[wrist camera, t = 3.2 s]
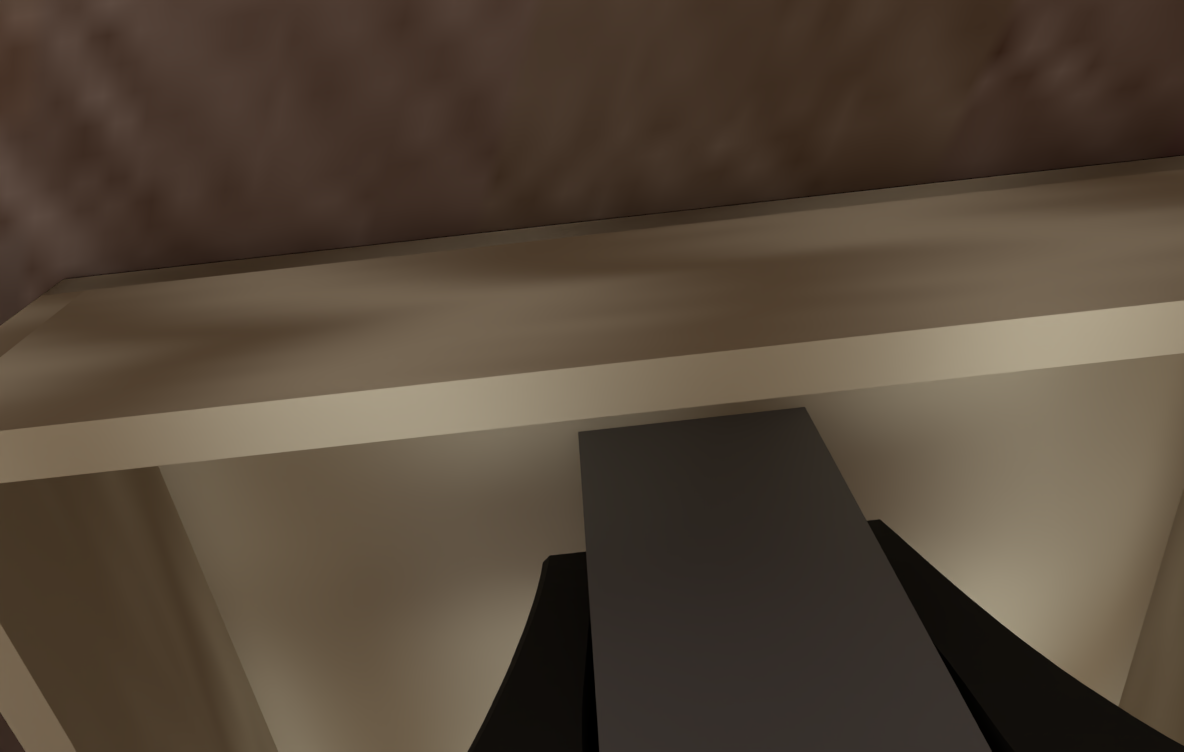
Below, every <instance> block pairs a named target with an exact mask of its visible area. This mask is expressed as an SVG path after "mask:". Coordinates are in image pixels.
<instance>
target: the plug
mask: <svg viewBox="0 0 1184 752" xmlns="http://www.w3.org/2000/svg"><path fill="white" fill-rule="evenodd" d="M578 438H579V453H580V468H581V483H582V498H583V513H584V528H585V543H586V558H587V573H588V588H589V603H590V618H591V633H592V648H593V663H594V678H595V693H596V708H597V723H598V738H599V752H992V751H991V749H990V747H989V745H988V743H987V742H986V740H985V738H984V736H983V734H982V732H981V731H980V729H979V727H978V725H977V723H976V721H975V720H974V718H973V716H972V714H971V712H970V710H969V708H968V707H967V705H966V703H965V701H964V699H963V697H962V696H961V694H960V692H959V690H958V688H957V686H956V684H955V683H954V681H953V679H952V677H951V675H950V673H949V672H948V670H947V668H946V666H945V664H944V662H943V661H942V659H941V657H940V655H939V653H938V651H937V649H936V648H935V646H934V644H933V642H932V640H931V638H930V637H929V635H928V633H927V631H926V629H925V627H924V625H923V624H922V622H921V620H920V618H919V616H918V614H917V613H916V611H915V609H914V607H913V605H912V603H911V602H910V600H909V598H908V596H907V594H906V592H905V590H904V589H903V587H902V585H901V583H900V581H899V579H898V578H897V576H896V574H895V572H894V570H893V568H892V566H891V565H890V563H889V561H888V559H887V557H886V555H885V554H884V552H883V550H882V548H881V546H880V544H879V543H878V541H877V539H876V537H875V535H874V533H873V531H872V530H871V528H870V526H869V524H868V522H867V520H866V519H865V517H864V515H863V513H862V511H861V509H860V508H859V506H858V504H857V502H856V500H855V498H854V496H853V495H852V493H851V491H850V489H849V487H848V485H847V484H846V482H845V480H844V478H843V476H842V474H841V472H840V471H839V469H838V467H837V465H836V463H835V461H834V460H833V458H832V456H831V454H830V452H829V450H828V449H827V447H826V445H825V443H824V441H823V439H822V437H821V436H820V434H819V432H818V430H817V428H816V426H815V425H814V423H813V421H812V419H811V417H810V415H809V413H808V412H807V410H806V408H805V407H799V408H790V409H781V410H771V411H762V412H753V413H744V414H735V415H726V416H717V417H708V418H699V419H690V420H681V421H671V422H662V423H653V424H644V425H635V426H626V427H617V428H608V429H599V430H590V431H581V432H578Z"/></svg>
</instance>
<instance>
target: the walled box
mask: <svg viewBox="0 0 1184 752" xmlns="http://www.w3.org/2000/svg"><path fill="white" fill-rule="evenodd" d="M799 407H805V408H806V410H807V412H808V413H809V415H810V417H811V419H812V421H813V423H814V425H815V426H816V428H817V430H818V432H819V434H820V436H821V437H822V439H823V441H824V443H825V445H826V447H827V449H828V450H829V452H830V454H831V456H832V458H833V460H834V461H835V463H836V465H837V467H838V469H839V471H840V472H841V474H842V476H843V478H844V480H845V482H846V484H847V485H848V487H849V489H850V491H851V493H852V495H853V496H854V498H855V500H856V502H857V504H858V506H859V508H860V509H861V511H862V513H863V515H864V517H865V519H866V520H867V521H868V520H877V519H880V520H881V521H883V522H884V523H885V524H886V525H887V526H888V527H890V528H891V529H892V530H893V531H894V532H895V533H896V534H898V535H899V536H900V537H901V538H902V539H903V540H904V541H905V542H907V543H908V544H909V545H910V546H911V547H912V548H913V549H914V550H915V551H917V552H918V553H919V554H920V555H921V556H922V557H923V558H924V559H926V560H927V561H928V562H929V563H930V564H931V565H932V566H934V567H935V568H936V569H937V570H938V571H939V572H940V573H942V574H943V575H944V576H945V577H946V578H947V579H948V580H950V581H951V582H952V583H953V584H954V585H955V586H957V587H958V588H959V589H960V590H961V591H962V592H964V593H965V594H966V595H967V596H968V597H970V598H971V599H972V600H973V601H974V602H976V603H977V604H978V605H979V606H981V607H982V608H983V609H984V610H985V611H987V612H988V613H989V614H990V615H991V616H993V617H994V618H995V619H996V620H998V621H999V622H1000V623H1001V624H1002V625H1004V626H1005V627H1006V628H1008V629H1009V630H1010V631H1011V632H1013V633H1014V634H1015V635H1017V636H1018V637H1019V638H1020V639H1022V640H1023V641H1024V642H1026V643H1027V644H1028V645H1030V646H1031V647H1032V648H1034V649H1035V650H1036V651H1038V652H1039V653H1041V654H1042V655H1043V656H1045V657H1046V658H1047V659H1049V660H1050V661H1051V662H1053V663H1054V664H1055V665H1057V666H1058V667H1060V668H1061V669H1062V670H1064V671H1065V672H1067V673H1068V674H1070V675H1071V676H1073V677H1074V678H1075V679H1077V680H1078V681H1080V682H1081V683H1083V684H1084V685H1086V686H1087V687H1089V688H1090V689H1092V690H1094V691H1095V692H1097V693H1098V694H1100V695H1101V696H1103V697H1104V698H1106V699H1107V700H1109V701H1111V702H1112V703H1114V704H1115V705H1117V706H1118V707H1120V708H1121V709H1123V710H1124V711H1126V712H1128V713H1129V714H1131V715H1132V716H1134V717H1135V718H1137V719H1139V720H1140V721H1142V722H1144V723H1145V724H1147V725H1149V726H1150V727H1152V728H1154V729H1155V730H1157V731H1159V732H1160V733H1162V734H1164V735H1165V736H1167V737H1169V738H1171V739H1172V740H1174V741H1176V742H1178V743H1180V744H1181V745H1183V746H1184V156H1175V157H1166V158H1157V159H1148V160H1139V161H1130V162H1121V163H1112V164H1103V165H1094V166H1085V167H1076V168H1067V169H1058V170H1049V171H1039V172H1030V173H1021V174H1012V175H1003V176H994V177H985V178H976V179H967V180H958V181H949V182H940V183H931V184H922V185H913V186H904V187H895V188H886V189H877V190H868V191H859V192H849V193H840V194H831V195H822V196H813V197H804V198H795V199H786V200H777V201H768V202H759V203H750V204H741V205H732V206H723V207H714V208H705V209H696V210H687V211H678V212H669V213H659V214H650V215H641V216H632V217H623V218H614V219H605V220H596V221H587V222H578V223H569V224H560V225H551V226H542V227H533V228H524V229H515V230H506V231H497V232H488V233H478V234H469V235H460V236H451V237H442V238H433V239H424V240H415V241H406V242H397V243H388V244H379V245H370V246H361V247H352V248H343V249H334V250H325V251H316V252H307V253H298V254H288V255H279V256H270V257H261V258H252V259H243V260H234V261H225V262H216V263H207V264H198V265H189V266H180V267H171V268H162V269H153V270H144V271H135V272H126V273H117V274H108V275H98V276H89V277H80V278H71V279H63V280H62V281H61V282H59V283H58V284H57V285H55V286H54V287H52V288H51V289H50V290H48V291H47V292H46V293H44V294H43V295H42V296H40V297H39V298H38V299H36V300H35V301H33V302H32V303H31V304H29V305H28V306H27V307H25V308H24V309H23V310H21V311H20V312H18V313H17V314H16V315H14V316H13V317H12V318H10V319H9V320H8V321H6V322H5V323H3V324H2V325H1V326H0V712H1V714H2V716H3V717H4V719H5V720H6V722H7V723H8V725H9V727H10V728H11V730H12V731H13V733H14V734H15V736H16V737H17V739H18V741H19V742H20V744H21V745H22V747H23V748H24V750H25V752H468V750H469V748H470V746H471V744H472V742H473V740H474V739H475V737H476V735H477V733H478V731H479V729H480V727H481V725H482V723H483V721H484V719H485V717H486V715H487V713H488V711H489V709H490V707H491V705H492V702H493V700H494V698H495V696H496V694H497V692H498V690H499V688H500V686H501V683H502V681H503V679H504V677H505V675H506V672H507V670H508V668H509V665H510V663H511V660H512V658H513V655H514V653H515V650H516V648H517V645H518V643H519V640H520V638H521V635H522V633H523V630H524V628H525V625H526V622H527V619H528V616H529V613H530V610H531V607H532V604H533V601H534V598H535V594H536V591H537V587H538V583H539V579H540V575H541V570H542V564H543V562H544V561H545V560H546V559H547V558H548V557H549V556H550V555H558V554H567V553H576V552H585V551H586V543H585V528H584V513H583V498H582V483H581V468H580V453H579V438H578V432H581V431H590V430H599V429H608V428H617V427H626V426H635V425H644V424H653V423H662V422H671V421H681V420H690V419H699V418H708V417H717V416H726V415H735V414H744V413H753V412H762V411H771V410H781V409H790V408H799Z"/></svg>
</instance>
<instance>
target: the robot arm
mask: <svg viewBox="0 0 1184 752" xmlns="http://www.w3.org/2000/svg"><path fill="white" fill-rule="evenodd" d="M867 522H868V524H869V526H870V528H871V530H872V531H873V533H874V535H875V537H876V539H877V541H878V543H879V544H880V546H881V548H882V550H883V552H884V554H885V555H886V557H887V559H888V561H889V563H890V565H891V566H892V568H893V570H894V572H895V574H896V576H897V578H898V579H899V581H900V583H901V585H902V587H903V589H904V590H905V592H906V594H907V596H908V598H909V600H910V602H911V603H912V605H913V607H914V609H915V611H916V613H917V614H918V616H919V618H920V620H921V622H922V624H923V625H924V627H925V629H926V631H927V633H928V635H929V637H930V638H931V640H932V642H933V644H934V646H935V648H936V649H937V651H938V653H939V655H940V657H941V659H942V661H943V662H944V664H945V666H946V668H947V670H948V672H949V673H950V675H951V677H952V679H953V681H954V683H955V684H956V686H957V688H958V690H959V692H960V694H961V696H962V697H963V699H964V701H965V703H966V705H967V707H968V708H969V710H970V712H971V714H972V716H973V718H974V720H975V721H976V723H977V725H978V727H979V729H980V731H981V732H982V734H983V736H984V738H985V740H986V742H987V743H988V745H989V747H990V749H991V751H992V752H1184V746H1183V745H1181V744H1180V743H1178V742H1176V741H1174V740H1172V739H1171V738H1169V737H1167V736H1165V735H1164V734H1162V733H1160V732H1159V731H1157V730H1155V729H1154V728H1152V727H1150V726H1149V725H1147V724H1145V723H1144V722H1142V721H1140V720H1139V719H1137V718H1135V717H1134V716H1132V715H1131V714H1129V713H1128V712H1126V711H1124V710H1123V709H1121V708H1120V707H1118V706H1117V705H1115V704H1114V703H1112V702H1111V701H1109V700H1107V699H1106V698H1104V697H1103V696H1101V695H1100V694H1098V693H1097V692H1095V691H1094V690H1092V689H1090V688H1089V687H1087V686H1086V685H1084V684H1083V683H1081V682H1080V681H1078V680H1077V679H1075V678H1074V677H1073V676H1071V675H1070V674H1068V673H1067V672H1065V671H1064V670H1062V669H1061V668H1060V667H1058V666H1057V665H1055V664H1054V663H1053V662H1051V661H1050V660H1049V659H1047V658H1046V657H1045V656H1043V655H1042V654H1041V653H1039V652H1038V651H1036V650H1035V649H1034V648H1032V647H1031V646H1030V645H1028V644H1027V643H1026V642H1024V641H1023V640H1022V639H1020V638H1019V637H1018V636H1017V635H1015V634H1014V633H1013V632H1011V631H1010V630H1009V629H1008V628H1006V627H1005V626H1004V625H1002V624H1001V623H1000V622H999V621H998V620H996V619H995V618H994V617H993V616H991V615H990V614H989V613H988V612H987V611H985V610H984V609H983V608H982V607H981V606H979V605H978V604H977V603H976V602H974V601H973V600H972V599H971V598H970V597H968V596H967V595H966V594H965V593H964V592H962V591H961V590H960V589H959V588H958V587H957V586H955V585H954V584H953V583H952V582H951V581H950V580H948V579H947V578H946V577H945V576H944V575H943V574H942V573H940V572H939V571H938V570H937V569H936V568H935V567H934V566H932V565H931V564H930V563H929V562H928V561H927V560H926V559H924V558H923V557H922V556H921V555H920V554H919V553H918V552H917V551H915V550H914V549H913V548H912V547H911V546H910V545H909V544H908V543H907V542H905V541H904V540H903V539H902V538H901V537H900V536H899V535H898V534H896V533H895V532H894V531H893V530H892V529H891V528H890V527H888V526H887V525H886V524H885V523H884V522H883V521H881V520H880V519H877V520H868V521H867ZM468 752H599V738H598V723H597V708H596V693H595V678H594V663H593V648H592V633H591V618H590V603H589V588H588V573H587V558H586V551H585V552H576V553H567V554H558V555H550V556H549V557H548V558H547V559H546V560H545V561H544V562H543V564H542V570H541V575H540V579H539V583H538V587H537V591H536V594H535V598H534V601H533V604H532V607H531V610H530V613H529V616H528V619H527V622H526V625H525V628H524V630H523V633H522V635H521V638H520V640H519V643H518V645H517V648H516V650H515V653H514V655H513V658H512V660H511V663H510V665H509V668H508V670H507V672H506V675H505V677H504V679H503V681H502V683H501V686H500V688H499V690H498V692H497V694H496V696H495V698H494V700H493V702H492V705H491V707H490V709H489V711H488V713H487V715H486V717H485V719H484V721H483V723H482V725H481V727H480V729H479V731H478V733H477V735H476V737H475V739H474V740H473V742H472V744H471V746H470V748H469V750H468Z"/></svg>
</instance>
